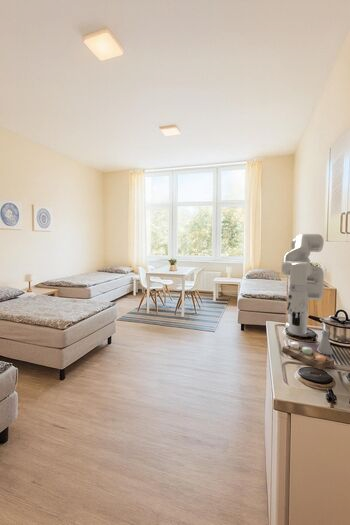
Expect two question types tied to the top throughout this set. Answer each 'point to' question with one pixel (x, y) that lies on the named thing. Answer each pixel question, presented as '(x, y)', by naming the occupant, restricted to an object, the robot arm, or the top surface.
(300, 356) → the panel
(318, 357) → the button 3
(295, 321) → the robot arm
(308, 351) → the button
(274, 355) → the top surface
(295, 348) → the button
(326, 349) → the flask
